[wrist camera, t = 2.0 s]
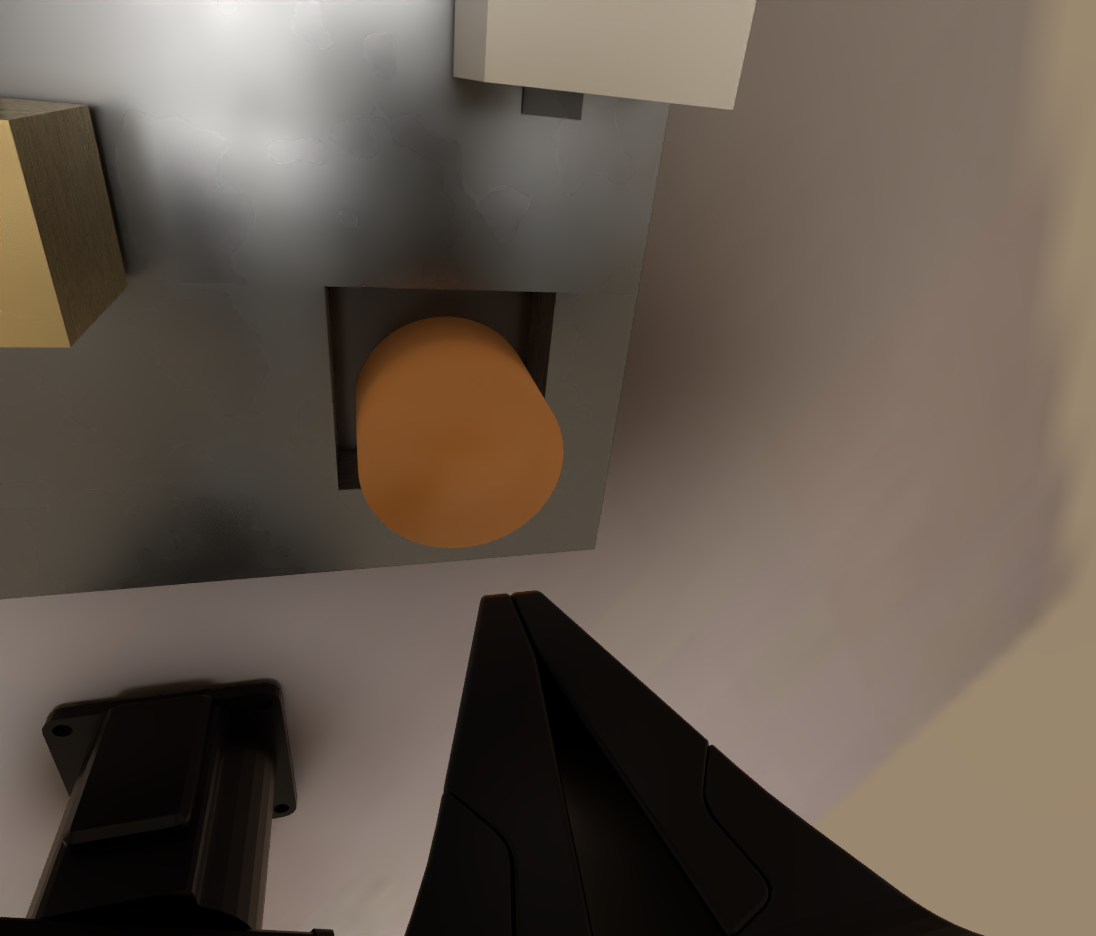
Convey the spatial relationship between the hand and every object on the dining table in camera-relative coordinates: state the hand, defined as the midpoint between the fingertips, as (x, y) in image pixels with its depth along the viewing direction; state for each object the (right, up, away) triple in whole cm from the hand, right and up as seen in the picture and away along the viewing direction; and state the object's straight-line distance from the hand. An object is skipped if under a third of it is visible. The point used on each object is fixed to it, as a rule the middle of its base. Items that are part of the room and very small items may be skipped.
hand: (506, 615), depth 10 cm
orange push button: (-2, +4, +6) cm, 7 cm away
